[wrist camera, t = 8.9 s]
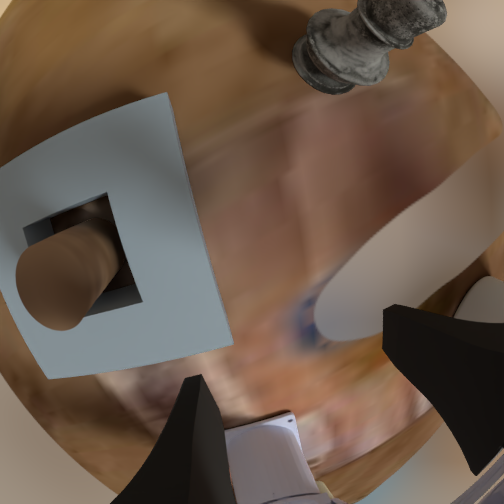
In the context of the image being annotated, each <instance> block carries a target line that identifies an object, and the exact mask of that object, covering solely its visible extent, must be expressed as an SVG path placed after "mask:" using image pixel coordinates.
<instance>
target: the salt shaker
mask: <svg viewBox="0 0 504 504" xmlns="http://www.w3.org/2000/svg"><path fill="white" fill-rule="evenodd" d="M446 16H447V11H446V7H445V4H444V2H443V0H358V3H357V8H356V9H354V10H353V11H352V12H351V13H350V12H347V11H344V10H340V9H332V8H331V9H324V10H321V11H319V12H317V13H315V14H314V15H313V16H312V17H311V18H310V19H309V22H308V25H307V28H306V29H307V34H306V35H304V36H302V37H301V38H299V39H298V41H297V42H296V43H295V44H294V47H293V50H292V60H293V63H294V66H295V68H296V70H297V72H298V73H299V75H300V76H301V77H302V78H303V79H304V80H305V81H306V83H308V84H309V85H311V86H312V87H313V88H315V89H317V90H319V91H321V92H323V93H328V94H332V95H335V94H343V93H346V92H348V91H350V90H351V89H352V88H353V87H354V86H355V85H362V86H370V85H373V84H376V83H379V82H380V81H381V80H382V79H384V78H385V76H386V74H387V72H388V69H389V56H388V51H390V50H392V49H394V48H397V49H407V48H409V47H410V46H412V44H413V41H414V37H416V36H418V35H420V34H422V33H424V32H427V31H429V30H431V29H433V28H436V27H438V26H440V25H442V24H443V23H444V22H445V20H446Z"/></svg>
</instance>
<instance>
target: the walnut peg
mask: <svg viewBox="0 0 504 504" xmlns="http://www.w3.org/2000/svg"><path fill="white" fill-rule="evenodd" d="M125 256H126V254H125V251H124V248H123V245H122V242H121V239H120V236H119V233H118V229H117V227H116V226H115V225H114V224H112V223H111V222H109V221H107V220H105V219H101V218H93V219H89V220H87V221H84V222H82V223H80V224H77V225H75V226H73V227H70V228H68V229H66V230H64V231H61V232H59V233H57V234H55V235H53V236H50V237H48V238H46V239H44V240H42V241H40V242H38V243H36V244H34V245H32V246H29V247H28V248H27V249H25V251H24V252H23V253H22V254H21V256H20V258H19V260H18V263H17V266H16V274H15V277H16V287H17V291H18V294H19V297H20V299H21V301H22V303H23V305H24V307H25V308H26V310H27V311H28V312H29V314H30V315H31V316H32V317H33V318H34V319H35V320H36V321H37V322H39V323H40V324H42V325H43V326H45V327H47V328H49V329H52V330H56V331H66V330H70V329H72V328H74V327H76V326H77V325H78V324H79V323H80V322H81V321H82V319H83V318H84V316H85V315H86V313H87V312H88V311H89V309H90V308H91V306H92V305H93V304H94V302H95V301H96V300H97V298H98V297H99V296H100V294H101V293H102V292H103V290H104V289H105V288H106V286H107V285H108V284H109V282H110V281H111V280H112V279H113V277H114V276H115V275H116V273H117V272H118V271H119V270H120V268H121V267H122V265H123V263H124V261H125Z"/></svg>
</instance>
